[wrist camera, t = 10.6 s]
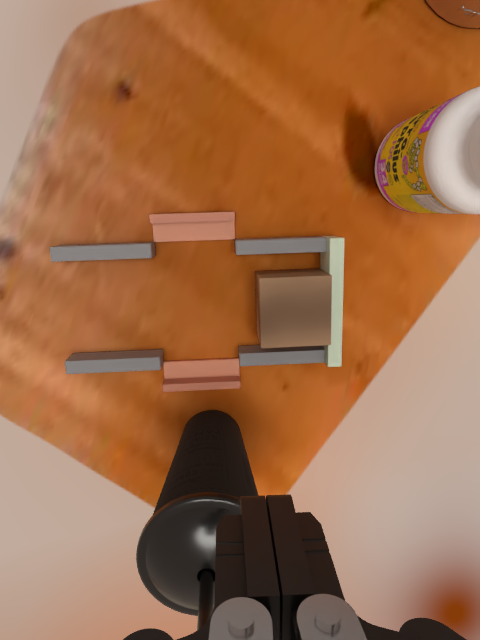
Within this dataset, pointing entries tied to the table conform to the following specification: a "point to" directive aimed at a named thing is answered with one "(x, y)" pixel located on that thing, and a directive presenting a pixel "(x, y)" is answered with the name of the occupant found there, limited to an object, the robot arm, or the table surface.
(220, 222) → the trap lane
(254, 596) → the robot arm
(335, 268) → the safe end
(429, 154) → the supplement bottle
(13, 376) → the table surface
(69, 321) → the table surface
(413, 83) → the table surface
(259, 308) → the walnut block
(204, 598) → the drinking cup
